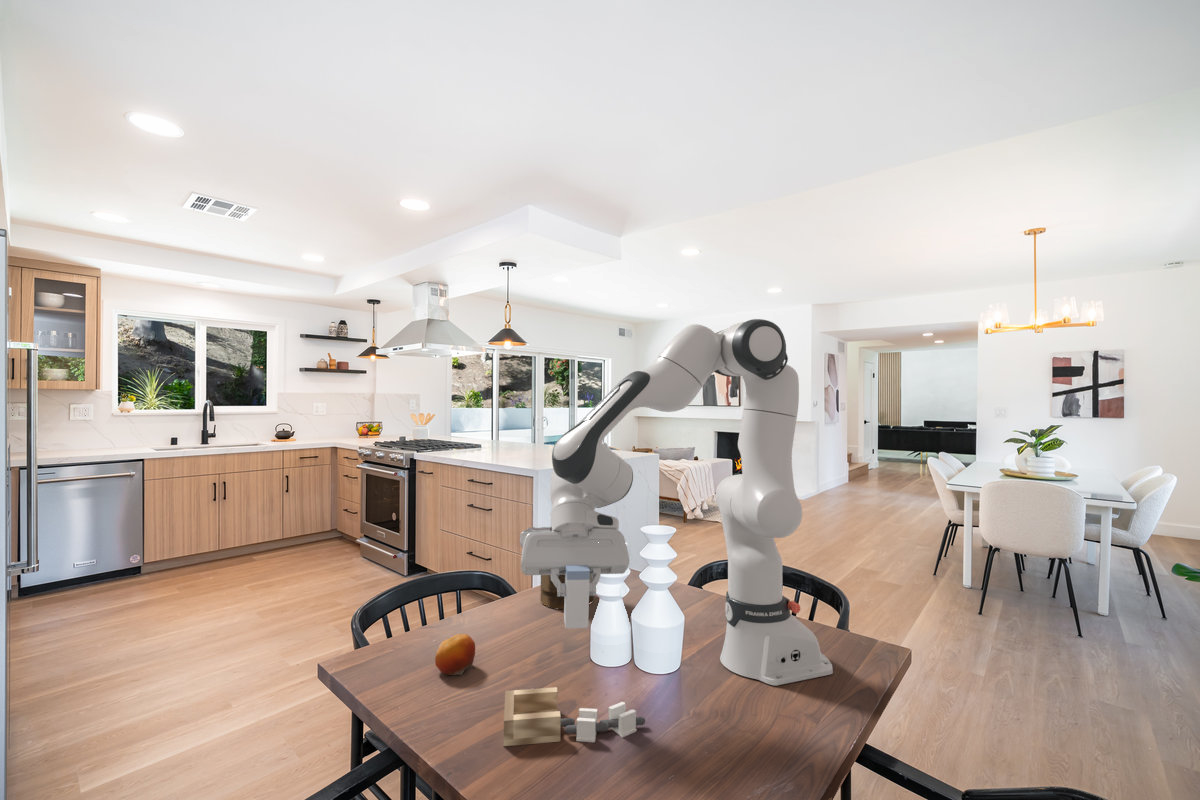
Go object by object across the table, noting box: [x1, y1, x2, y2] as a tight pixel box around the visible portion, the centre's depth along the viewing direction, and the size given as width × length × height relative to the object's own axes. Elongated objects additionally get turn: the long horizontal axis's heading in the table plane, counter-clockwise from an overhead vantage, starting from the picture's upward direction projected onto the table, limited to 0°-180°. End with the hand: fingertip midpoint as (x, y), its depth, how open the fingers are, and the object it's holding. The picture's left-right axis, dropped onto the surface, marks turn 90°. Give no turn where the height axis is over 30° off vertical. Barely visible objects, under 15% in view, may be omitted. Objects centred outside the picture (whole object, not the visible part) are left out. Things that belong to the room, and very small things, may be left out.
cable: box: [560, 716, 646, 735], centre depth 89 cm, size 16×3×1 cm, turn 98°
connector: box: [563, 565, 590, 630], centre depth 96 cm, size 4×4×10 cm
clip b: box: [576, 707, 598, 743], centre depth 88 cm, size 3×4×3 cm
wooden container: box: [540, 574, 595, 610], centre depth 149 cm, size 15×15×22 cm
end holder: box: [503, 686, 562, 747], centre depth 90 cm, size 9×9×4 cm
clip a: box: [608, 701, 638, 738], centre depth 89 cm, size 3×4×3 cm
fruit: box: [434, 633, 476, 676], centre depth 109 cm, size 8×8×8 cm
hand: (576, 594), depth 95 cm, fingers closed on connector, 4 cm apart
